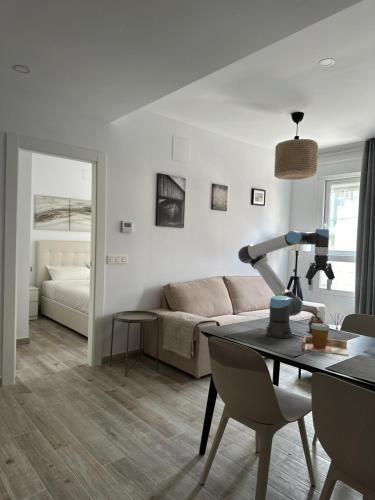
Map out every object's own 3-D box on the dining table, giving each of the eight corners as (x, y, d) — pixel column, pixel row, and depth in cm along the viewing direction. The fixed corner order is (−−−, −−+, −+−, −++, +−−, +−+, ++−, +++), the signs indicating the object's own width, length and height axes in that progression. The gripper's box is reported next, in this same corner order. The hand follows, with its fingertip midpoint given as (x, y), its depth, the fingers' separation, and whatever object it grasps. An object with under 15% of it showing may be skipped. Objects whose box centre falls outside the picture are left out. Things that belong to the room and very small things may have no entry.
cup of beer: (328, 345, 192) (329, 323, 192) (329, 350, 183) (330, 327, 183) (309, 343, 195) (310, 321, 195) (309, 348, 186) (310, 325, 186)
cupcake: (327, 333, 226) (327, 317, 226) (315, 334, 222) (316, 318, 222) (316, 329, 235) (317, 314, 235) (304, 330, 231) (305, 315, 231)
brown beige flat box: (302, 349, 186) (302, 342, 186) (303, 342, 200) (304, 335, 200) (348, 355, 178) (348, 348, 178) (346, 348, 192) (346, 340, 192)
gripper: (308, 254, 202) (307, 291, 203) (342, 255, 212) (340, 291, 212) (300, 253, 209) (298, 289, 210) (332, 255, 219) (331, 289, 219)
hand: (319, 290), depth 211 cm, fingers open, 13 cm apart
